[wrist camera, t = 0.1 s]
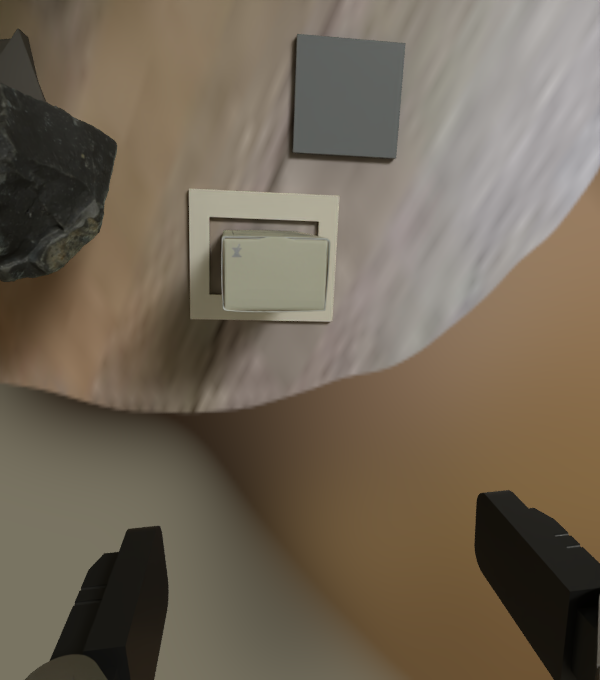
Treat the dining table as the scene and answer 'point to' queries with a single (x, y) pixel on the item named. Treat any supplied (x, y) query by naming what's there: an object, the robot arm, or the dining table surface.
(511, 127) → the dining table surface
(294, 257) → the skincare box
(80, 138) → the dark grey rock
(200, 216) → the flat square frame
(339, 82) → the tile
